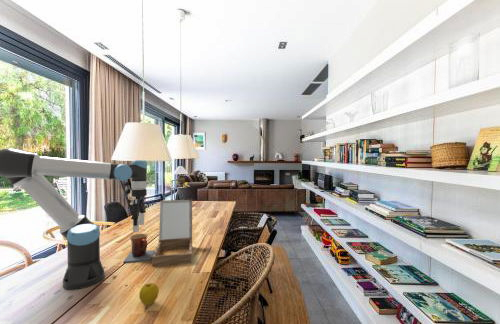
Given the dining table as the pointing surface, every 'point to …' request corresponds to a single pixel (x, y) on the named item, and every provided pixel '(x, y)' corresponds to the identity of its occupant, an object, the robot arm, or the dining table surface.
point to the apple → (149, 293)
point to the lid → (175, 219)
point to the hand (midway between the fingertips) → (138, 228)
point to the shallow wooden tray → (172, 258)
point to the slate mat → (145, 257)
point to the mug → (139, 244)
